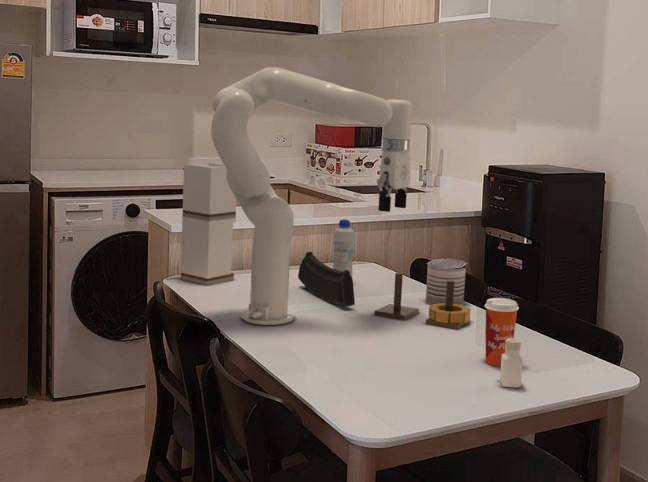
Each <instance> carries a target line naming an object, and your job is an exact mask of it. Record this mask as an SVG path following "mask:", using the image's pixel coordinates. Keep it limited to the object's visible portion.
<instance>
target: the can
mask: <svg viewBox="0 0 648 482" xmlns="http://www.w3.org/2000/svg"><path fill="white" fill-rule="evenodd" d="M426 265H427V272H426V273H427V274H426V287H425V302H426V304H427V305H430V306H431V305H433V304H438V303H446V286H447V281H448V280H452V281H454V297H453V304H459V305H463V306H464V304H465V303H464V302H465V287H466V274H467V273H466V272H467V271H466V269H467V267H466V266H467V265H468V263H467V262H466V261H465V260H463V259H455V258H449V257H448V258H439V259H438V258H437V259H432V260H430V261H428V262H426Z"/></svg>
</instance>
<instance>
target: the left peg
mask: <svg viewBox="0 0 648 482" xmlns="http://www.w3.org/2000/svg"><path fill="white" fill-rule="evenodd" d="M403 275H404V274H403V272H395V274H394V291H393V293H394V294H393V303H389V304H386V305H384V306H382V307H379V308H378V309H376V310H374V316H379V317H384V318H390V319H395V320H402V321H406V320H408V319H410V318H412V317H414V316H416V315H417V314H419V313H420V308H418V307H411V306H405V305H402V295H403V294H402V293H403V277H404V276H403Z"/></svg>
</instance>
